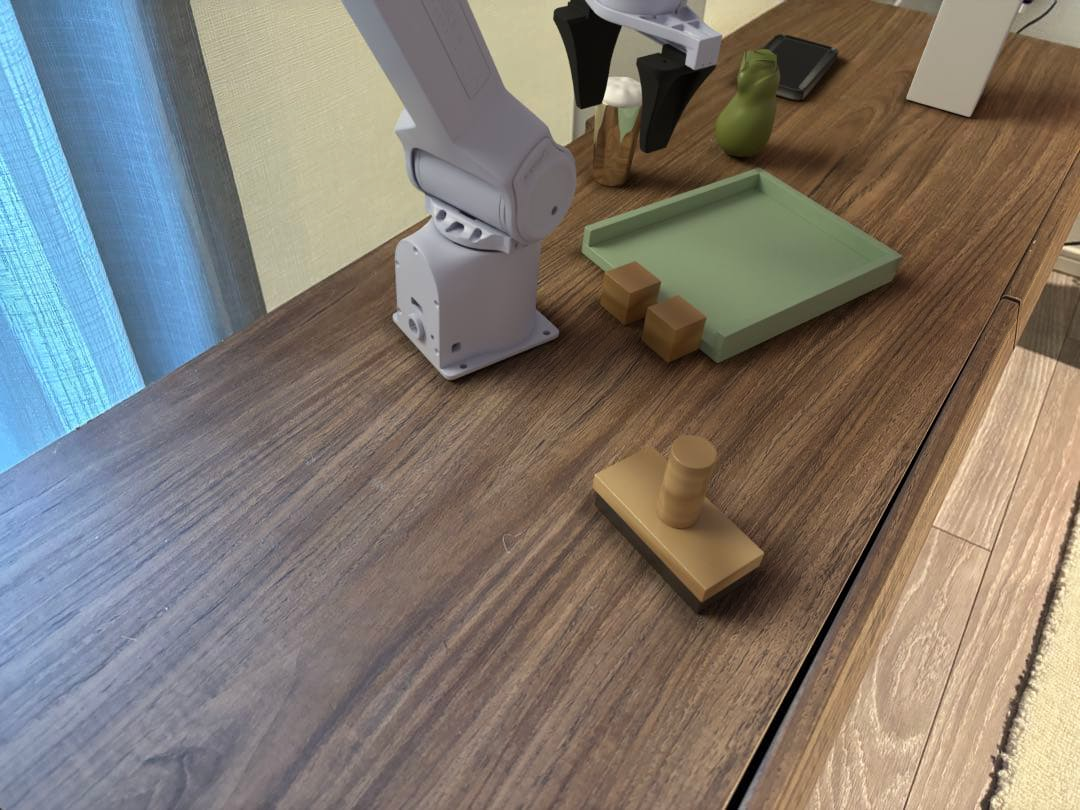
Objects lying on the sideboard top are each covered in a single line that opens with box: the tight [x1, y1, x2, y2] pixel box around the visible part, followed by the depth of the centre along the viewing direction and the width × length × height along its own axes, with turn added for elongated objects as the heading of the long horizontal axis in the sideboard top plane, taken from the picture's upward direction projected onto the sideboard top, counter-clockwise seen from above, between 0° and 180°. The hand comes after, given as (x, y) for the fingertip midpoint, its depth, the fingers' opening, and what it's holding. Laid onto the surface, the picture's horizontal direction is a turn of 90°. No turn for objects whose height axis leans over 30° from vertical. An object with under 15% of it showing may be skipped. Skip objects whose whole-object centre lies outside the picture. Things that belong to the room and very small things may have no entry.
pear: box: [714, 48, 780, 158], centre depth 82 cm, size 6×5×10 cm
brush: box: [592, 434, 765, 614], centre depth 48 cm, size 4×9×8 cm, turn 36°
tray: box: [581, 167, 903, 364], centre depth 71 cm, size 20×16×2 cm
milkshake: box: [591, 76, 642, 188], centre depth 77 cm, size 4×5×10 cm
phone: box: [736, 33, 839, 101], centre depth 101 cm, size 8×1×15 cm
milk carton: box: [905, 0, 1024, 118], centre depth 92 cm, size 7×7×19 cm
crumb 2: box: [641, 295, 707, 364], centre depth 63 cm, size 3×3×3 cm
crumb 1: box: [599, 261, 661, 326], centre depth 65 cm, size 3×3×3 cm
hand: (620, 126), depth 65 cm, fingers open, 7 cm apart
